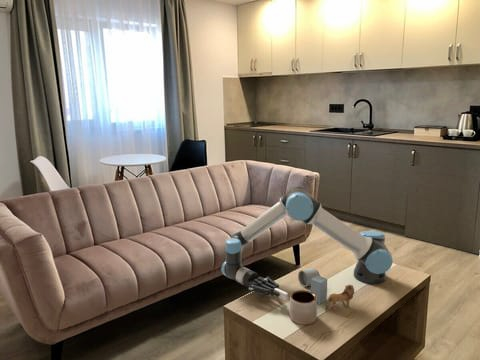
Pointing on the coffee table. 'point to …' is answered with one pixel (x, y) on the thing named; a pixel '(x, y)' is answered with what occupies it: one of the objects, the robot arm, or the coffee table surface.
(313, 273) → the ceramic mug
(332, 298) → the lion figurine
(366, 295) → the coffee table surface
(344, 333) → the coffee table surface
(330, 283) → the coffee table surface
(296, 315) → the planter
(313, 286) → the slate block
